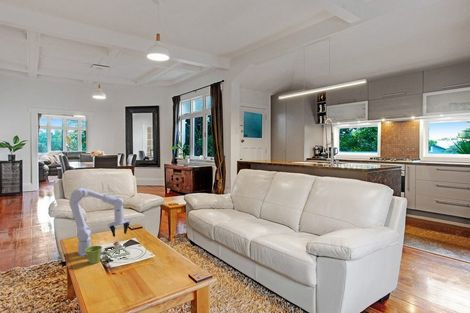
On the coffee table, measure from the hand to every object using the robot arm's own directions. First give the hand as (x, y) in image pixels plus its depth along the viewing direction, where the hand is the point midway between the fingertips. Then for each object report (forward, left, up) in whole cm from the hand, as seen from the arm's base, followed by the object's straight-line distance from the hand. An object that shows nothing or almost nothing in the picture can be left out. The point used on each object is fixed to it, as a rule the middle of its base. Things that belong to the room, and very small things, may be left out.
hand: (119, 235), depth 194 cm
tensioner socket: (-1, -6, -10) cm, 12 cm away
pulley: (-1, +1, -10) cm, 10 cm away
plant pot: (+8, -19, -11) cm, 23 cm away
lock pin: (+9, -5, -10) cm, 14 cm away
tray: (+10, -5, -10) cm, 15 cm away
